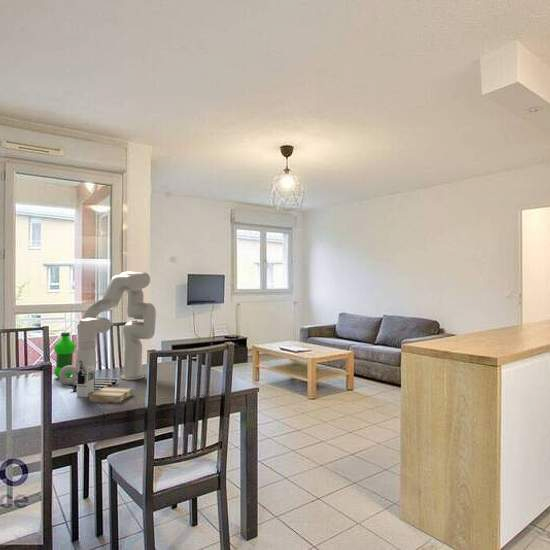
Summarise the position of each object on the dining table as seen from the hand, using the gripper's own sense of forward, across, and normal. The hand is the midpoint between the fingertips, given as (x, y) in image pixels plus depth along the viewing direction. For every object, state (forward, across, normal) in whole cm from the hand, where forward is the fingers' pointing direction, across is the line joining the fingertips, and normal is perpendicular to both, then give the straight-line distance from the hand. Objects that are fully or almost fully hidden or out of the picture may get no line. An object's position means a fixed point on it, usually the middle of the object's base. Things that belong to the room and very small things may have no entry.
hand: (85, 381), depth 199 cm
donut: (+7, -17, -19) cm, 26 cm away
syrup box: (+7, 0, 0) cm, 7 cm away
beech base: (+6, +2, +14) cm, 16 cm away
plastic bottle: (+7, -30, -30) cm, 43 cm away
